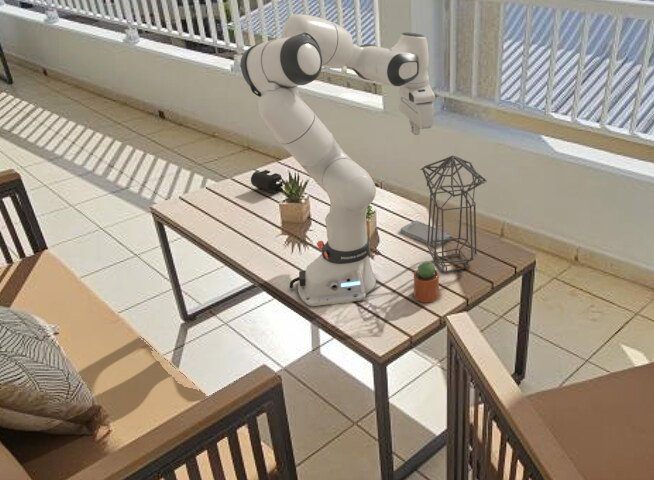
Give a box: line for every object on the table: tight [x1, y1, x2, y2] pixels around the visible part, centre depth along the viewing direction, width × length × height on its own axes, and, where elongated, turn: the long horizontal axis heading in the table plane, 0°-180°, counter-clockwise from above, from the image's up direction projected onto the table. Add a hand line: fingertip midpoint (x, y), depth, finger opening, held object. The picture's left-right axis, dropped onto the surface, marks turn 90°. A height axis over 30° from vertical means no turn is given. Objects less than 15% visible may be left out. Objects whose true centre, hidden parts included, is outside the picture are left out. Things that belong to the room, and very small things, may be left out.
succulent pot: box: [413, 261, 440, 303], centre depth 172 cm, size 7×7×11 cm
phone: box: [400, 220, 452, 248], centre depth 203 cm, size 8×16×1 cm, turn 47°
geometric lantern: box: [419, 154, 488, 273], centre depth 179 cm, size 16×16×35 cm
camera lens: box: [250, 169, 284, 195], centre depth 233 cm, size 10×7×7 cm
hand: (415, 133), depth 191 cm, fingers closed
